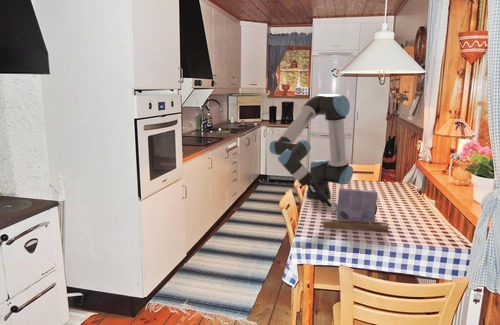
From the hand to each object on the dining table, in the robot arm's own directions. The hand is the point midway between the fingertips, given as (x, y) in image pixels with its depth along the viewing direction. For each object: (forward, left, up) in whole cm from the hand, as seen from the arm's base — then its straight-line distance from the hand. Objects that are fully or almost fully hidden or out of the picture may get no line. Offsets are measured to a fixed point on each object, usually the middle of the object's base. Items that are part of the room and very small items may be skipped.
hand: (335, 210), depth 187 cm
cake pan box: (-1, +11, -7) cm, 13 cm away
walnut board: (+5, +9, -7) cm, 13 cm away
